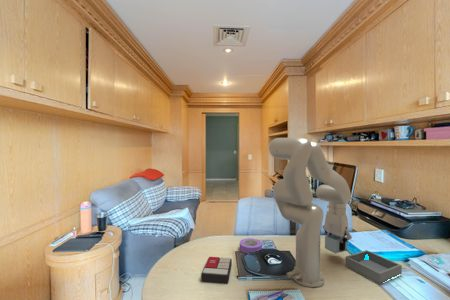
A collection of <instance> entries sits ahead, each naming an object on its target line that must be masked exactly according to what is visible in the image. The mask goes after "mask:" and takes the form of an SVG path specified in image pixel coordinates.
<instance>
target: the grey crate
mask: <svg viewBox="0 0 450 300" xmlns="http://www.w3.org/2000/svg"><path fill="white" fill-rule="evenodd" d="M366 254H368V256H369V260H364V258H365V255H366ZM344 260H345V263H344V265H345V267H346V268H347V269H349V270H351V271H353V272H355V273H356V274H359V275H360V276H362V277H364V278H366V279H367V280H370V281H372V282H373V283H375V284H376V285H378V286H381V285H382V284H381V283H383V282H385V281H387V280H388V279H391V278H392V277H395V276H397V275H399V274H402V273H403V271H402V269H403V266H402V264H400V263H398V262H395V261H393V260H391V259H388V258H386V257H383V256H381V255H379V254H378V253H375V252H372V251H369V250H367V249H365V250H362V251H359V252H356V253H353V254H349V255H346V256H345V259H344ZM380 284H381V285H380ZM383 284H384V283H383Z"/></svg>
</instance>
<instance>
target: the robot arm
mask: <svg viewBox="0 0 450 300" xmlns="http://www.w3.org/2000/svg"><path fill="white" fill-rule="evenodd" d="M268 152H269V154H270V155H271V157H273V158H274V159H277V160H284V161H285V160H286V161H287V164H286V165H285V168H284V169H283V171H282V178H280V179H278V180H277V181H276V182H275V183H274V185H273V190H272V193H273V197H274V201H275V203H276V205H277V208H278V210H279V212H280V214H281V216H282V217H283V219H285V220H287V221H288V222H289V221H290V222H293V223H295V224H298V225H300V226H301V227H300V228H299V229H298V230H297V232H296V235H295V266H293V269H292V271H289V272H286V277H287V279H288V278H292V277H293V278H292V279H293V280H294V281H295V283H297V284H299V285H301V286H304V287H308V288H318V287H321V286H323V284H324V283H325V277H324V275H323V274H322V273H321V234H322V233H321V232H322V229H323V230H324V233H325V236H327V235H332V234H334V235H336V236H339V237H340V241H341V242H340V243H339V250H340V251H343V250H345V242H347V243H348V241H350V240H351V239H352V238H353V236H352V235H351V233H350V232H349V219H348V215H347V204H349V203H350V202H351V199H352V194H351V189H350V187H349V185H348V181H347V180H346V179H345V178H344V176H342V175H341V174H339V173H338V172H337V171H335V170H334V169H333V168H331V167H330V166H329V165H330V164H329V163H328V160H327V158H326V156H325V154H324V151H323V148H322V147H321V145H320V144H319V143H318V142H317V141H310V140H309V139H308V138H305V137H293V136H292V137H275V138H274V139H272V140H271V141H270V143H269V146H268ZM306 171H308V174H309V175H310V176H311V178H313V179H314V180H316V181H318V182H320V183H323V184H320V185H319V186H318V187H317V188H316V190H315V195H316V197H317V198H318V199H319V200H321V201H324V202H328V205H327V209H328V210H327V211H326V214H325V219H324V211H323V209H322V207H321V206H319V205H318V204H317V203H314V202H313V199H314V197H313V196H314V195H313V191H312V188H311V184H310V182H309V179H308V177H307V176H308V175H307V172H306ZM323 221H324V225H323ZM342 237H343V238H342Z"/></svg>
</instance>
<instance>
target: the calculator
mask: <svg viewBox="0 0 450 300" xmlns="http://www.w3.org/2000/svg"><path fill="white" fill-rule="evenodd" d="M232 266H233V265H232V258H231V257H223V256H222V257H219V256H208V258H207V260H206V262H205V265H204V267H203V269H202V272H201V278H200V279H201V282H202V283H208V284H210V283H211V284H221V285H228V284H229V281H230V276H231V270H232Z"/></svg>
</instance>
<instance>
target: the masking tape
mask: <svg viewBox="0 0 450 300" xmlns="http://www.w3.org/2000/svg"><path fill="white" fill-rule="evenodd" d="M262 243H263V242H261V240H259V239H256V238H250V237H247V238H243V239H240V241H239V251H240V253H242V252H243V253H242V254H244V253H249V252H255V251H259V250H261V249H262V250H263V247H262V246H263V244H262Z"/></svg>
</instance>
